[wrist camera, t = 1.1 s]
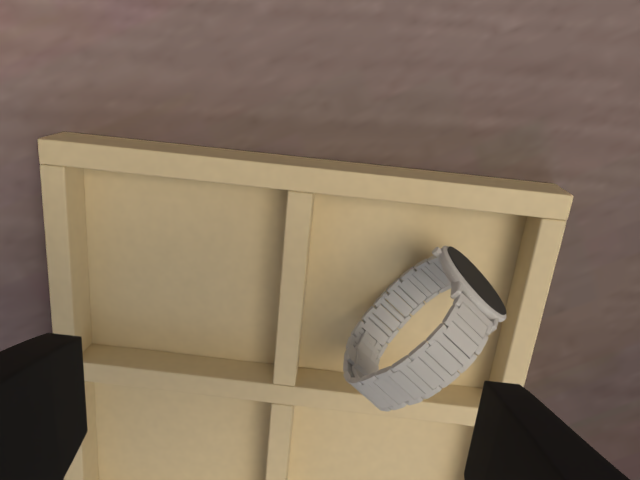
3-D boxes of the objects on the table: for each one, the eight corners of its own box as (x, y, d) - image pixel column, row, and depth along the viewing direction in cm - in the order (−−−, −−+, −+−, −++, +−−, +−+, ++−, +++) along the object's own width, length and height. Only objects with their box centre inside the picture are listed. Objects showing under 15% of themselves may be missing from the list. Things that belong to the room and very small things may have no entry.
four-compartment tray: (463, 556, 23) (471, 591, 21) (86, 510, 23) (68, 541, 22) (555, 183, 18) (574, 195, 16) (63, 131, 18) (36, 138, 16)
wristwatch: (488, 272, 18) (536, 348, 14) (382, 361, 20) (392, 457, 15) (431, 215, 18) (460, 273, 13) (326, 310, 19) (318, 393, 14)
